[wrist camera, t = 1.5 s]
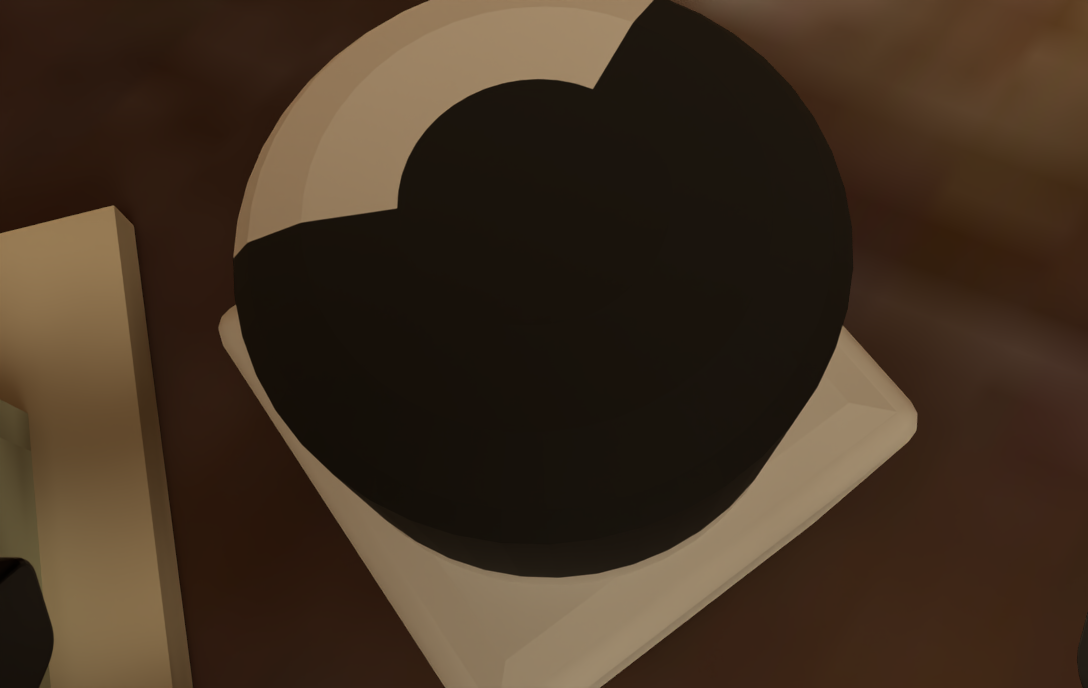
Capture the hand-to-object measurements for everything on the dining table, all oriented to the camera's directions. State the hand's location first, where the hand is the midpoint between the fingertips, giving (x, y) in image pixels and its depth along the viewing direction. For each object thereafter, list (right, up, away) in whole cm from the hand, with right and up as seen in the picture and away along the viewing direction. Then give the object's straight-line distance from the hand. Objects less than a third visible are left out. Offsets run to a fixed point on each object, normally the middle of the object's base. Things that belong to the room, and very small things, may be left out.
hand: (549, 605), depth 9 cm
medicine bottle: (0, 0, +12) cm, 12 cm away
